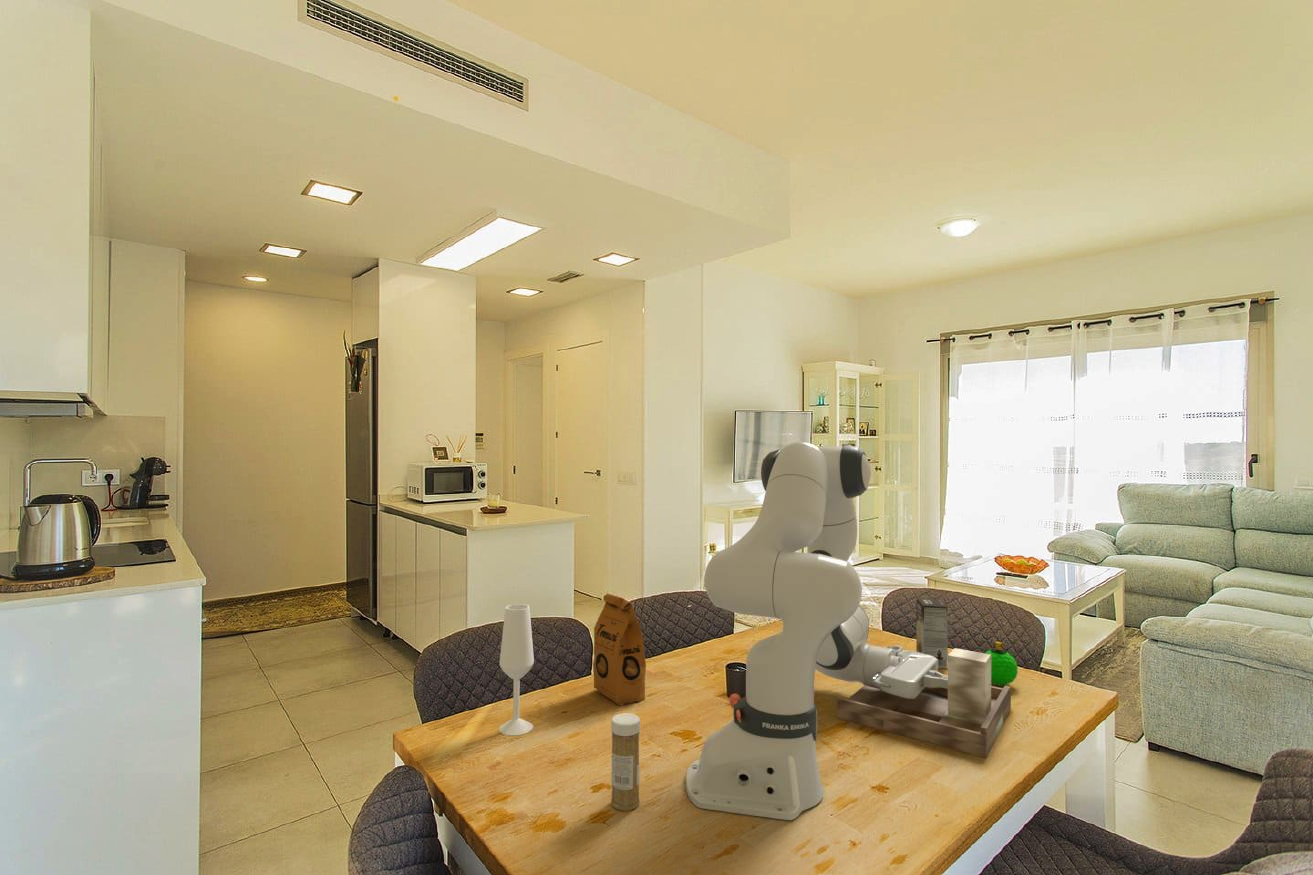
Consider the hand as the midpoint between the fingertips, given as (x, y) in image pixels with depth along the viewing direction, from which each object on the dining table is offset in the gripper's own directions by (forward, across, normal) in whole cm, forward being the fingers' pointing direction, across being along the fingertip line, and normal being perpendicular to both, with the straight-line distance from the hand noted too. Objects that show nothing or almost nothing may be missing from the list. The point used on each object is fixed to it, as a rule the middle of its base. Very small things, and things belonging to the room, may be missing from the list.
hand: (950, 682), depth 134 cm
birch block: (+4, 0, +6) cm, 7 cm away
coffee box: (-12, +35, +8) cm, 38 cm away
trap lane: (-5, 0, +8) cm, 9 cm away
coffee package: (-62, -33, +8) cm, 71 cm away
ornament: (+4, +28, +8) cm, 30 cm away
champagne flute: (-68, -58, +8) cm, 90 cm away
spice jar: (-33, -66, +8) cm, 74 cm away
